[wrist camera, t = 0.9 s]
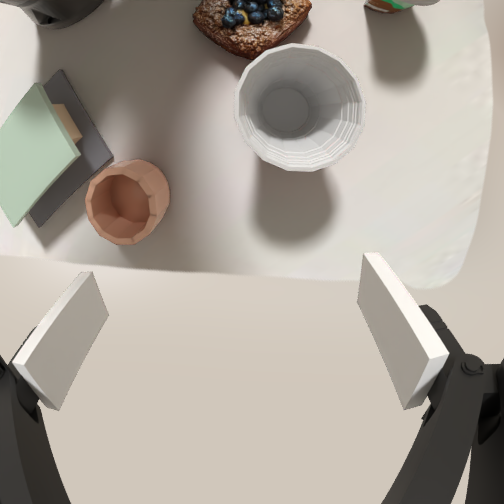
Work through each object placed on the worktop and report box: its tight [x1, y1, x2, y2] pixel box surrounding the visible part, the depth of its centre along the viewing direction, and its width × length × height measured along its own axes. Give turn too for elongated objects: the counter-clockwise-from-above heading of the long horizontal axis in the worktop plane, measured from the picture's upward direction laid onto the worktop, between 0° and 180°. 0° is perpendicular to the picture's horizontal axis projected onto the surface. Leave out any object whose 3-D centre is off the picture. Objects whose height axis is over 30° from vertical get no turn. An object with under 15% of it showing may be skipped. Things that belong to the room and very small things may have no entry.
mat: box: [29, 69, 113, 227], centre depth 30 cm, size 16×18×5 cm
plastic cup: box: [234, 43, 366, 172], centre depth 25 cm, size 11×11×12 cm
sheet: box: [0, 83, 81, 228], centre depth 27 cm, size 12×16×1 cm
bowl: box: [85, 159, 170, 245], centre depth 32 cm, size 9×9×6 cm
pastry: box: [193, 0, 312, 61], centre depth 23 cm, size 11×12×6 cm
